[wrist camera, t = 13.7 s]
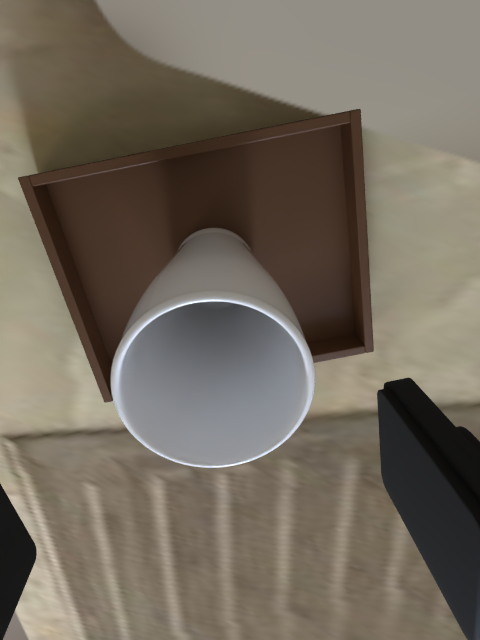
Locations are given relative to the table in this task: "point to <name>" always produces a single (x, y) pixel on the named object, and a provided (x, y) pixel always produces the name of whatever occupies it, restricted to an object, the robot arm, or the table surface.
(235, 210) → the tray
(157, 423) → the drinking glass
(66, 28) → the table surface
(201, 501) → the table surface
